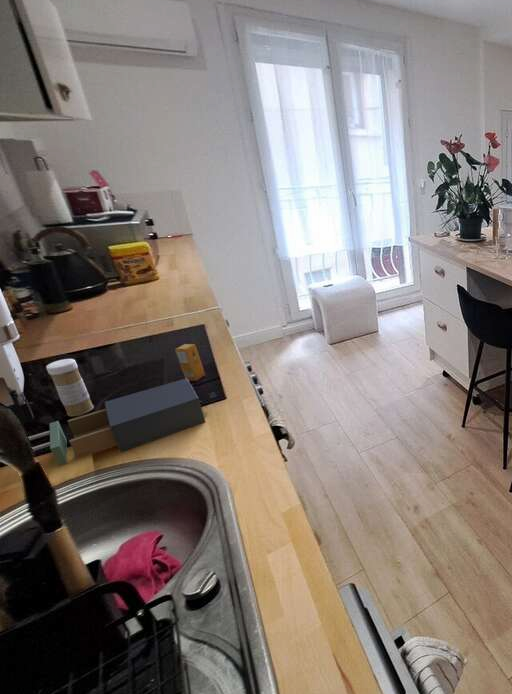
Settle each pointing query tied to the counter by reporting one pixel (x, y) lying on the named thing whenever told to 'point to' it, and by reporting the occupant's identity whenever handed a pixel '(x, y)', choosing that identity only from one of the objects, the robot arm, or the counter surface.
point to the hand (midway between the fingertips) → (21, 422)
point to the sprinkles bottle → (70, 387)
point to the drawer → (79, 436)
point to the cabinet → (153, 413)
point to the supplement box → (190, 362)
